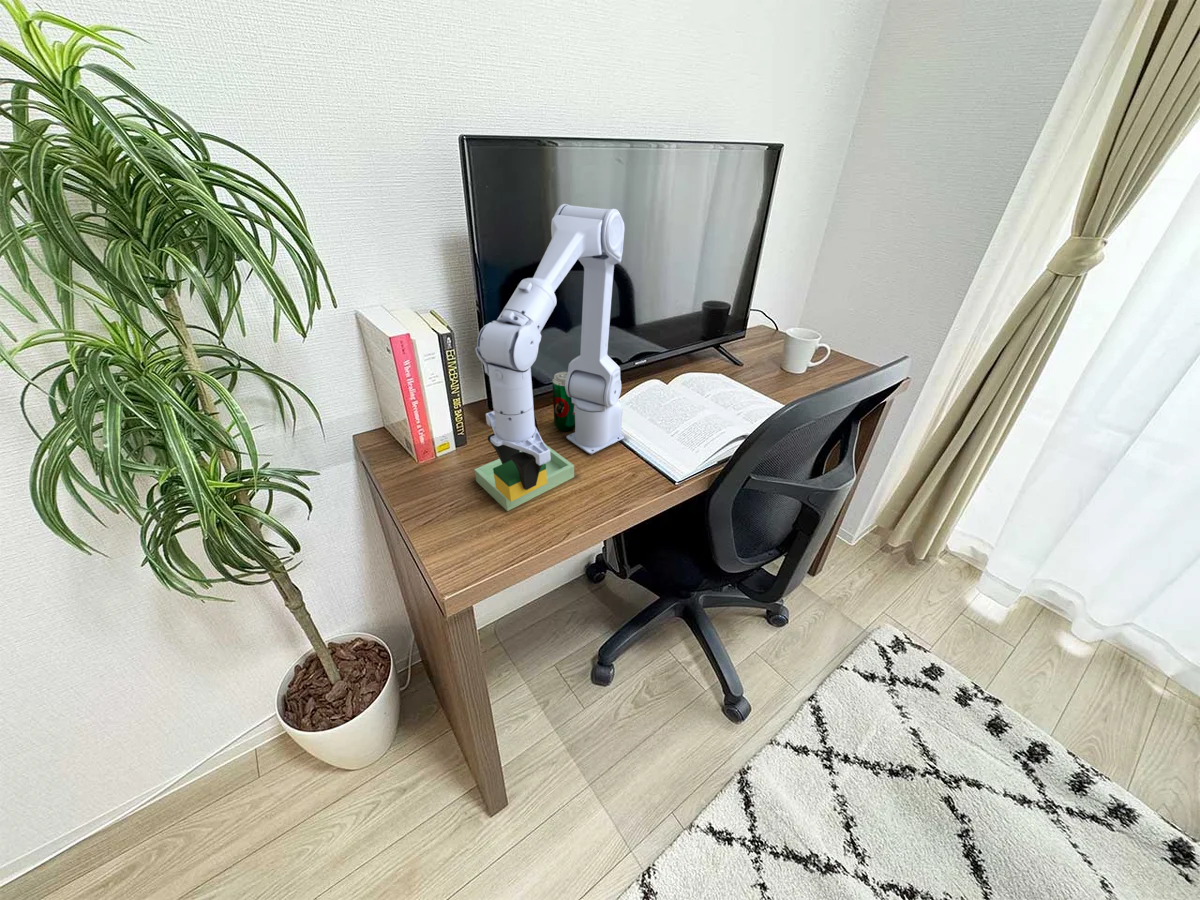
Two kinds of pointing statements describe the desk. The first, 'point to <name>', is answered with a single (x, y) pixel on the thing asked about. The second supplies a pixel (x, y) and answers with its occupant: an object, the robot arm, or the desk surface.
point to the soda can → (562, 404)
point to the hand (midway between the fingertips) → (520, 478)
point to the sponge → (515, 480)
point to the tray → (556, 475)
